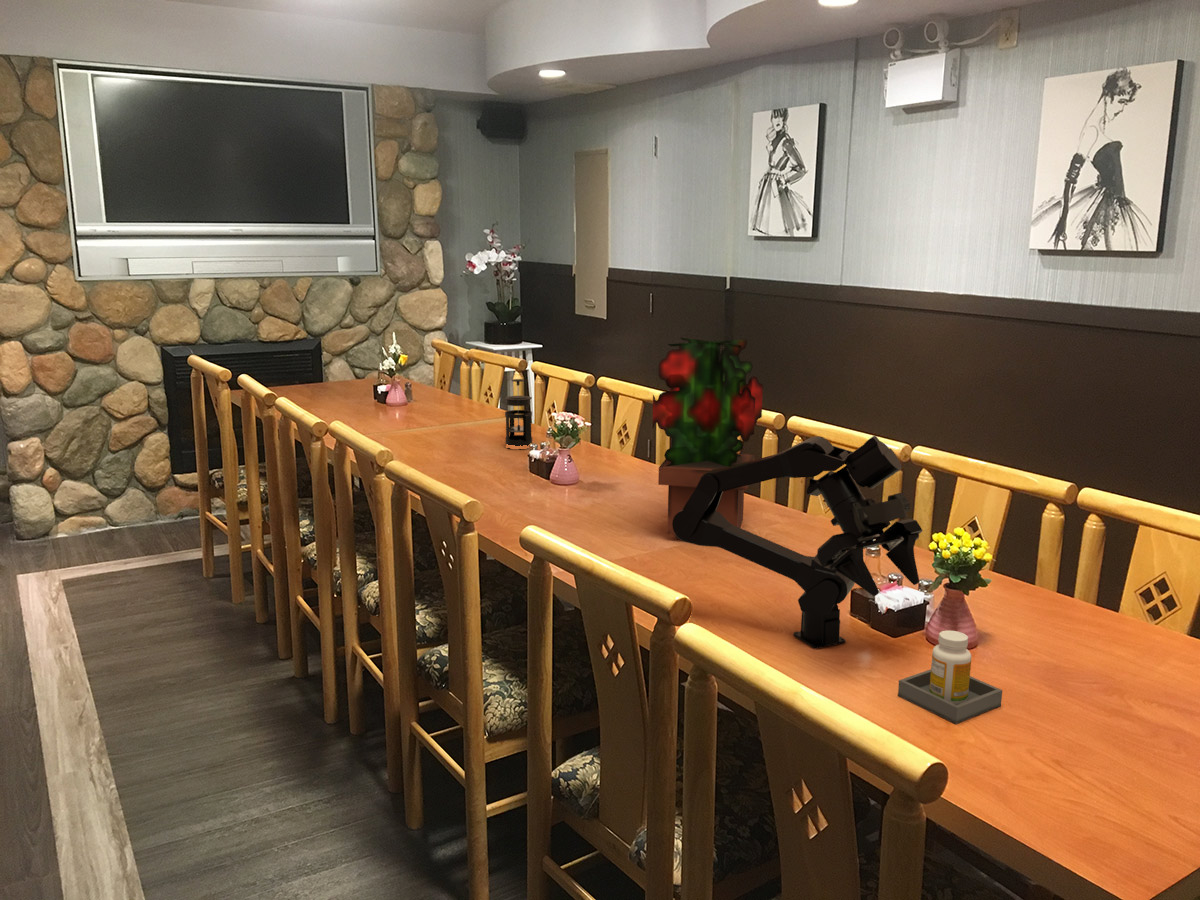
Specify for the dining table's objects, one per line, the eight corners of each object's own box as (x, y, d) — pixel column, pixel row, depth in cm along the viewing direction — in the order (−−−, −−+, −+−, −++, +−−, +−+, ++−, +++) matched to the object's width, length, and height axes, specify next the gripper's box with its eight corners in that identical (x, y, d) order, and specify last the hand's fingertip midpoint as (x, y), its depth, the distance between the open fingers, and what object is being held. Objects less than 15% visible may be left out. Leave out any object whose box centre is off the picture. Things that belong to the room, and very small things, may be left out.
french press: (498, 446, 318) (497, 378, 314) (522, 443, 324) (521, 376, 319) (517, 452, 309) (515, 382, 304) (541, 448, 315) (540, 380, 310)
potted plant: (650, 544, 212) (653, 344, 203) (667, 518, 233) (670, 336, 224) (749, 552, 207) (757, 347, 198) (757, 524, 228) (764, 338, 219)
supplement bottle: (968, 693, 140) (974, 631, 138) (966, 708, 135) (972, 645, 133) (930, 686, 142) (935, 625, 140) (926, 701, 138) (932, 638, 136)
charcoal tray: (897, 695, 140) (899, 680, 140) (942, 679, 146) (943, 664, 145) (955, 724, 132) (957, 707, 131) (1000, 706, 137) (1002, 690, 137)
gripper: (834, 485, 142) (887, 575, 135) (917, 470, 152) (970, 553, 145) (795, 522, 150) (843, 609, 143) (876, 506, 160) (924, 587, 153)
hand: (897, 589), depth 146 cm, fingers open, 9 cm apart
